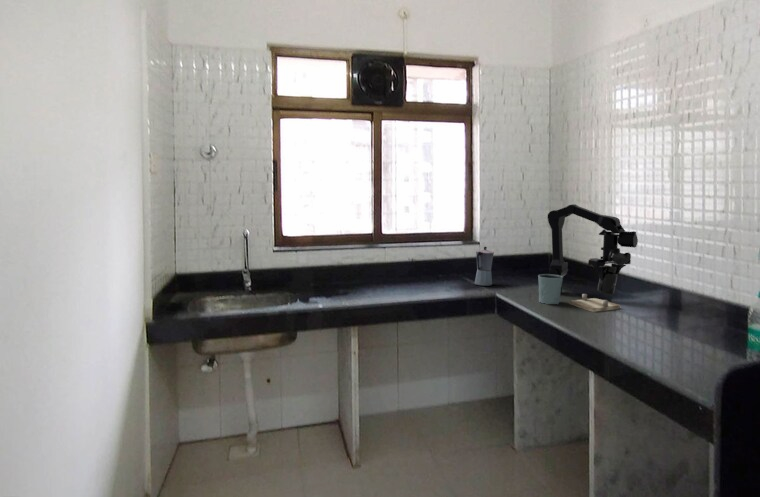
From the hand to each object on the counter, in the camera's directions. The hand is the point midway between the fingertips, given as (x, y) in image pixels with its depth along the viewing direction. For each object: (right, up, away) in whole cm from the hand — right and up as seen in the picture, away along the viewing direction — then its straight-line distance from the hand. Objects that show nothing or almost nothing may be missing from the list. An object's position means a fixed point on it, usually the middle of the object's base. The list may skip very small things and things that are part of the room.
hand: (608, 280), depth 218 cm
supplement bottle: (-1, -6, +1) cm, 6 cm away
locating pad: (-10, -11, -8) cm, 17 cm away
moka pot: (-48, -5, +38) cm, 61 cm away
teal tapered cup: (-26, -10, -1) cm, 28 cm away
